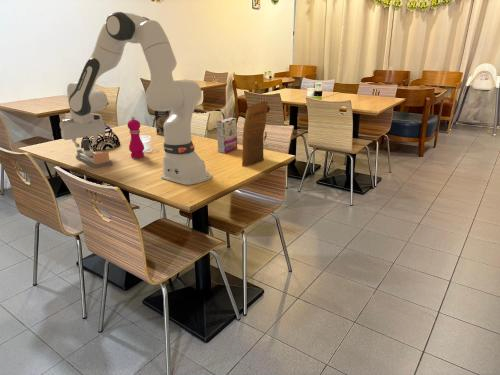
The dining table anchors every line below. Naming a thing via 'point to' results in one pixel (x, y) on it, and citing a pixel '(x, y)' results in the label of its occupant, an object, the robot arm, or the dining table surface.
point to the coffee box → (161, 120)
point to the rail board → (94, 159)
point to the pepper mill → (135, 139)
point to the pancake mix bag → (254, 134)
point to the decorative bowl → (115, 140)
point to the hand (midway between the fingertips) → (86, 145)
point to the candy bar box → (227, 135)
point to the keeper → (86, 148)
